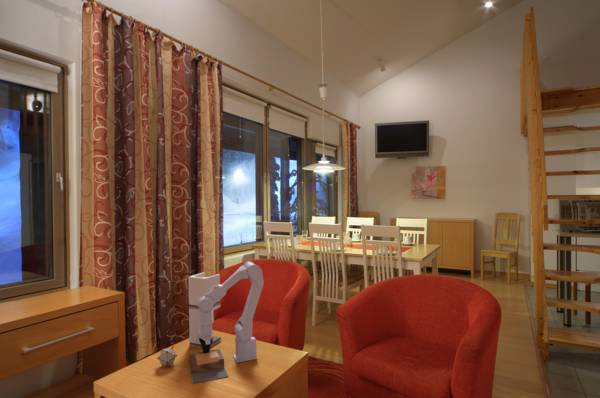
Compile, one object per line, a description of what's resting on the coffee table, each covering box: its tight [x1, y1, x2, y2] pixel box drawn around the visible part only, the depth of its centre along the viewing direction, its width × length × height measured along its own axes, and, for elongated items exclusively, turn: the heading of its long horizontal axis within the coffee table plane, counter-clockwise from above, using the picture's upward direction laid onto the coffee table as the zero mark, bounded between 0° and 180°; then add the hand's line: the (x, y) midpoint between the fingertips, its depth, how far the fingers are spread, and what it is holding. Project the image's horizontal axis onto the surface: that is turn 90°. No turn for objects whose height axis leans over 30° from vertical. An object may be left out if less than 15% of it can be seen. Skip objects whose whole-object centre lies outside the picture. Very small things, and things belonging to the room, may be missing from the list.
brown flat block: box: [188, 348, 225, 374], centre depth 164 cm, size 14×11×4 cm
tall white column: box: [187, 271, 222, 349], centre depth 188 cm, size 11×11×35 cm
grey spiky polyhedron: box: [156, 346, 178, 369], centre depth 164 cm, size 9×8×10 cm
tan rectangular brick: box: [196, 351, 219, 365], centre depth 160 cm, size 9×6×2 cm, turn 112°
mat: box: [190, 366, 229, 385], centre depth 155 cm, size 14×9×1 cm, turn 112°
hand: (206, 354), depth 164 cm, fingers closed
